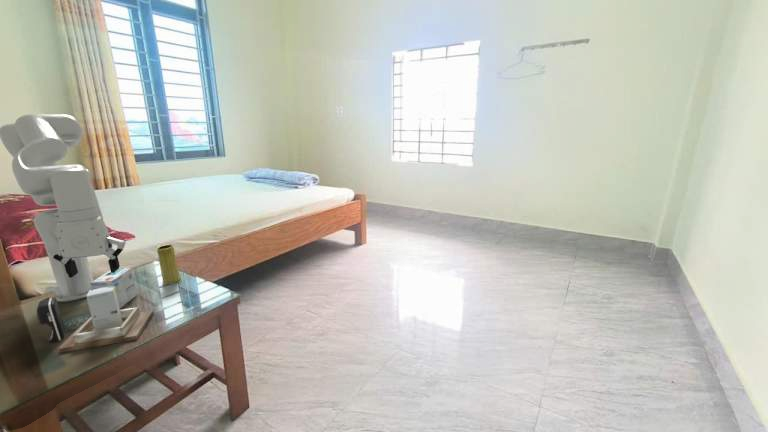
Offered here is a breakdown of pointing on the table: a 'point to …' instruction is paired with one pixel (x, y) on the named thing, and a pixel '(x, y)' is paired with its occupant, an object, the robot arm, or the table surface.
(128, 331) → the holder
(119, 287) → the light bulb box
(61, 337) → the black hard case
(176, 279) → the vase
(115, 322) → the skincare box
